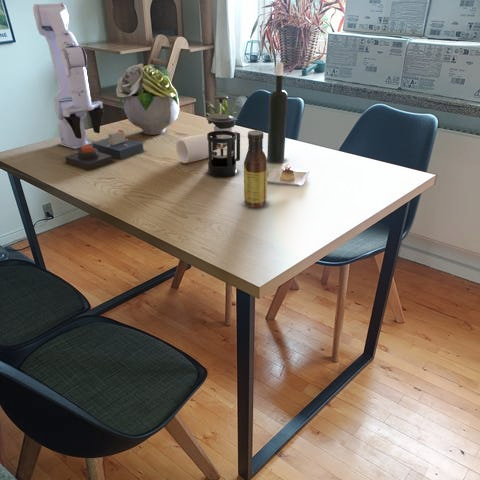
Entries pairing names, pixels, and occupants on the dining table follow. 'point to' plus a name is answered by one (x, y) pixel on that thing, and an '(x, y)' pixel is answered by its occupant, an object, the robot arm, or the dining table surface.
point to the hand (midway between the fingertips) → (87, 135)
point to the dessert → (287, 176)
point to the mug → (192, 148)
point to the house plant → (224, 111)
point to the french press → (222, 158)
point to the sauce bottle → (255, 171)
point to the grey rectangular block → (116, 137)
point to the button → (87, 148)
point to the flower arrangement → (148, 98)
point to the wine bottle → (277, 119)
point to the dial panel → (119, 148)
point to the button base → (88, 159)
